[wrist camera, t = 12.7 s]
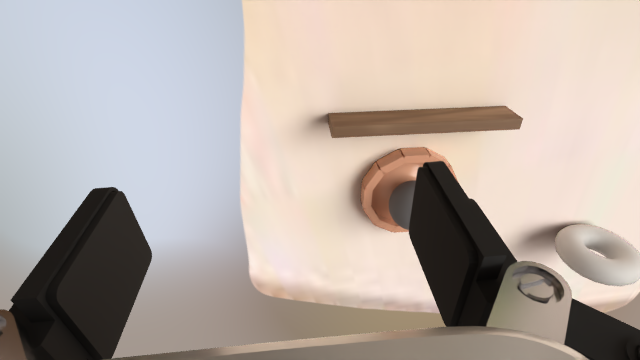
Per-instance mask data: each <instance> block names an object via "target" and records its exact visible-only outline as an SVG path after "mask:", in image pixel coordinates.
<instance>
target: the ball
mask: <svg viewBox="0 0 640 360" xmlns="http://www.w3.org/2000/svg"><path fill="white" fill-rule="evenodd" d="M415 183H416V180H412V181H407V182H404V183H402V184H400V185H399V186H397V187H396V188H395V189H394V191H393V192H392V194H391V196H390V199H389V212H390V215H391V217H392V219H393V220H394V221H395V222H396V223H397V224H398V225H399V226H400V227H402V228H404V229H406V230H409V223H410V216H411V210H412V203H413V196H414V190H415Z"/></svg>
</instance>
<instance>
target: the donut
mask: <svg viewBox="0 0 640 360" xmlns="http://www.w3.org/2000/svg"><path fill="white" fill-rule="evenodd" d="M555 246H556V251H557V253H558V255H559V256H560V258H561V259H562V260H563V262H564V263H566V264H567V265H568V266H569V267H570V268H571V269H572V270H574V271H575V272H577V273H578V274H580V275H581V276H583V277H585V278H588V279H590V280H592V281H594V282H598V283H601V284H605V285H612V286H624V285H629V284H633V283H635V282H636V281H638V280H639V279H640V253H639V251H638V250H637V249H636V248H635V247H634V246H633V245H632V244H631V243H629V242H628V241H627V240H625V239H624V238H622V237H621V236H619V235H617V234H615V233H613V232H611V231H608V230H606V229H603V228H601V227H597V226H592V225H585V224H576V225H570V226H567V227H565V228H564V229H562V230H560V231H559V232H558V234H557V236H556V239H555ZM589 249H592V250H594V251H597V252H599V253H601V254H602V255H604V256H605V257H606V258H605V257H602V256H600V255H597V254H595V253H594V252H592V251H590V250H589Z"/></svg>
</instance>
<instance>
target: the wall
mask: <svg viewBox="0 0 640 360" xmlns="http://www.w3.org/2000/svg"><path fill="white" fill-rule="evenodd" d="M522 120H523V118H521V117H520V116H519V115H517V114H516V113H514V112H513V111H512V110H510V109H509V108H508V107H506V106H494V107H470V108H446V109H422V110H398V111H374V112H350V113H328V124H329V128H330V132H331V136H332V138H340V137H362V136H383V135H405V134H427V133H448V132H470V131H491V130H513V129H520V126H521V123H522Z"/></svg>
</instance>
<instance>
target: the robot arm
mask: <svg viewBox="0 0 640 360" xmlns="http://www.w3.org/2000/svg"><path fill="white" fill-rule="evenodd" d="M409 235H410V239H411V241H412V244H413V246H414V249H415V251H416V254H417V256H418V259H419V261H420V264H421V266H422V269H423V271H424V274H425V276H426V279H427V281H428V284H429V286H430V289H431V291H432V294H433V296H434V299H435V301H436V304H437V306H438V309H439V311H440V314H441V316H442V319H443V321H444V323H445V325H446V327H438V328H425V329H412V330H398V331H387V332H376V333H365V334H354V335H344V336H334V337H323V338H312V339H301V340H291V341H281V342H271V343H260V344H251V345H241V346H231V347H220V348H210V349H201V350H190V351H181V352H171V353H162V354H152V355H142V356H133V357H123V358H114V359H111V358H112V356H113V354H114V352H115V349H116V347H117V344H118V342H119V339H120V337H121V334H122V332H123V329H124V327H125V324H126V322H127V319H128V317H129V314H130V312H131V310H132V307H133V305H134V302H135V300H136V297H137V294H138V292H139V289H140V287H141V285H142V282H143V280H144V277H145V275H146V272H147V270H148V267H149V265H150V262H151V259H152V253H151V249H150V247H149V245H148V243H147V241H146V239H145V236H144V234H143V232H142V230H141V228H140V226H139V224H138V222H137V220H136V218H135V216H134V213H133V211H132V209H131V207H130V205H129V203H128V201H127V199H126V196H125V194H124V193H123V192H122V191H118V189H116V188H114V187H109V188H95V189H93V190H92V191H91V192H90V193H89V194H88V196H87V197H86V199H85V200H84V201H83V203H82V204H81V205H80V207H79V208H78V209H77V211H76V212H75V213H74V215H73V216H72V218H71V219H70V220H69V222H68V223H67V224H66V226H65V227H64V228H63V230H62V231H61V233H60V234H59V235H58V237H57V238H56V239H55V241H54V242H53V243H52V245H51V246H50V247H49V249H48V250H47V251H46V253H45V254H44V256H43V257H42V258H41V260H40V261H39V262H38V264H37V265H36V266H35V268H34V269H33V270H32V272H31V273H30V275H29V276H28V277H27V279H26V280H25V281H24V283H23V284H22V285H21V287H20V288H19V290H18V291H17V292H16V294H15V295H14V296H13V298H12V299H11V301H12V302H13V303H14V304H13V306H12V308H11V309H10V310H9V311H7V310H0V360H640V330H638V329H636V328H634V327H632V326H630V325H628V324H626V323H624V322H621V321H619V320H617V319H615V318H613V317H611V316H609V315H606V314H604V313H602V312H600V311H598V310H596V309H594V308H592V307H589V306H587V305H585V304H583V303H581V302H579V301H577V300H575V299H572V293H571V289H570V287H569V285H568V283H567V282H566V281H565V280H564V278H563V277H562V276H561V275H559V274H558V273H557V272H555V271H554V270H553V269H551V268H549V267H547V266H545V265H543V264H539V263H536V262H530V261H521V262H517V260H516V259H515V258H514V256H513V255H512V253H511V252H510V250H509V249H508V247H507V246H506V245H505V243H504V242H503V240H502V239H501V237H500V236H499V234H498V233H497V232H496V230H495V229H494V227H493V226H492V224H491V223H490V221H489V220H488V219H487V217H486V216H485V214H484V213H483V211H482V210H481V208H480V207H479V206H478V204H477V203H476V202H475V201H474V200H473V199H469V198H468V196H467V195H466V193H465V192H464V190H463V189H462V188H461V186H460V185H459V183H458V182H457V180H456V179H455V177H454V176H453V174H452V173H451V171H450V170H449V168H448V167H447V165H446V164H445V163H444V161H434V162H425V163H424V164H423V167H419V168H418V170H417V176H416V183H415V190H414V196H413V203H412V210H411V216H410V223H409Z"/></svg>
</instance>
